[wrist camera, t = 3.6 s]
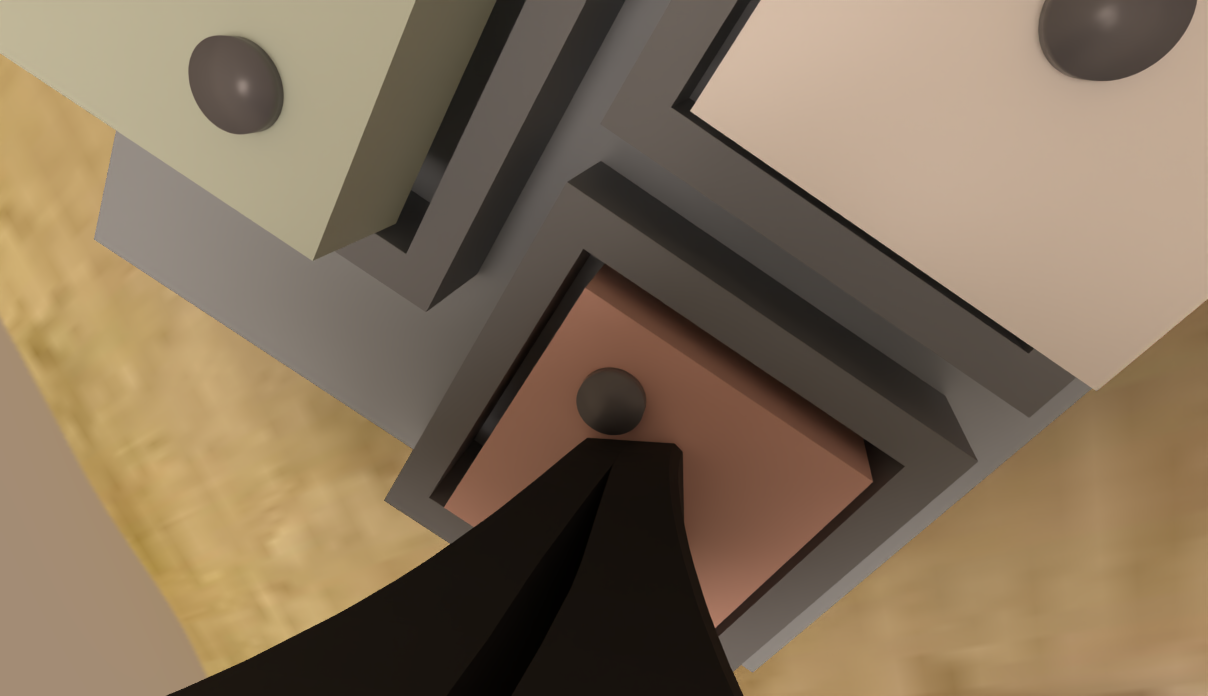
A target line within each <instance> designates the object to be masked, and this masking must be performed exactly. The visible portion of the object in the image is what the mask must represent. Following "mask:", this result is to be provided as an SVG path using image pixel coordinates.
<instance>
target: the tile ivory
mask: <svg viewBox="0 0 1208 696" xmlns="http://www.w3.org/2000/svg"><path fill="white" fill-rule="evenodd" d="M690 111H691V112H692V113H694V114H695V115H696V116H698V117H699V118H701V119H702V120H704V121H705V122H707V123H708V124H710V125H711V126H712V127H714V128H715V129H717V130H718V131H720V132H721V133H723V134H724V135H725V136H727V137H728V138H730V139H731V140H733V141H734V142H736V143H737V144H739V145H740V146H741V147H743V148H744V149H746V150H747V151H749V152H750V153H752V154H753V155H754V156H756V157H757V158H759V159H760V160H762V161H763V162H765V163H766V164H768V165H769V166H770V167H772V168H773V169H775V170H776V171H778V172H779V173H781V174H782V175H783V176H785V177H786V178H788V179H789V180H791V181H792V182H794V183H795V184H797V185H798V186H799V187H801V188H802V189H804V190H805V191H807V192H808V193H810V194H811V195H812V196H814V197H815V198H817V199H818V200H820V201H821V202H823V203H824V204H826V205H827V206H828V207H830V208H831V209H833V210H834V211H836V212H837V213H839V214H840V215H841V216H843V217H844V218H846V219H847V220H849V221H850V222H852V223H853V224H855V225H856V226H857V227H859V228H860V229H862V230H863V231H865V232H866V233H868V234H869V235H870V236H872V237H873V238H875V239H876V240H878V241H879V242H881V243H882V244H884V245H885V246H886V247H888V248H889V249H891V250H892V251H894V252H895V253H897V254H898V255H900V256H901V257H902V258H904V259H905V260H907V261H908V262H910V263H911V264H913V265H914V266H915V267H917V268H918V269H920V270H921V271H923V272H924V273H926V274H927V275H929V276H930V277H931V278H933V279H934V280H936V281H937V282H939V283H940V284H942V285H943V286H944V287H946V288H947V289H949V290H950V291H952V292H953V293H955V294H956V295H958V296H959V297H960V298H962V299H963V300H965V301H966V302H968V303H969V304H971V305H972V306H973V307H975V308H976V309H978V310H979V311H981V312H982V313H984V314H985V315H987V316H988V317H989V318H991V319H992V320H994V321H995V322H997V323H998V324H1000V325H1001V326H1002V327H1004V328H1005V329H1007V330H1008V331H1010V332H1011V333H1013V334H1014V335H1016V336H1017V337H1018V338H1020V339H1021V340H1023V341H1024V342H1026V343H1027V344H1029V345H1030V346H1031V347H1033V348H1034V349H1036V350H1037V351H1039V352H1040V353H1042V354H1043V355H1045V356H1046V357H1047V358H1049V359H1050V360H1052V361H1053V362H1055V363H1056V364H1058V365H1059V366H1060V367H1062V368H1063V369H1065V370H1066V371H1068V372H1069V373H1071V374H1072V375H1074V376H1075V377H1076V378H1078V379H1079V380H1081V381H1082V382H1084V383H1085V384H1087V385H1088V386H1089V387H1091V388H1092V389H1094V390H1095V391H1098V390H1099V389H1100V388H1101V387H1102V386H1104V385H1105V384H1106V383H1107V382H1108V381H1110V380H1111V379H1112V378H1113V377H1114V376H1116V375H1117V374H1118V373H1119V372H1120V371H1122V370H1123V369H1124V368H1125V367H1126V366H1128V365H1129V364H1130V363H1131V362H1132V361H1134V360H1135V359H1136V358H1137V357H1138V356H1140V355H1141V354H1142V353H1143V352H1144V351H1146V350H1147V349H1148V348H1149V347H1150V346H1152V345H1153V344H1154V343H1155V342H1156V341H1158V340H1159V339H1160V338H1161V337H1162V336H1164V335H1165V334H1166V333H1167V332H1168V331H1170V330H1171V329H1172V328H1173V327H1174V326H1176V325H1177V324H1178V323H1179V322H1180V321H1182V320H1183V319H1184V318H1185V317H1186V316H1188V315H1189V314H1190V313H1191V312H1192V311H1194V310H1195V309H1196V308H1197V307H1198V306H1200V305H1201V304H1202V303H1203V302H1204V301H1206V300H1207V299H1208V0H761V1H760V2H759V4H758V5H757V7H756V8H755V10H754V11H753V13H752V15H751V16H750V18H749V19H748V21H747V22H746V24H745V26H744V27H743V29H742V30H741V32H740V33H739V35H738V37H737V38H736V40H735V41H734V43H733V44H732V46H731V48H730V49H729V51H728V52H727V54H726V55H725V57H724V59H723V60H722V62H721V63H720V65H719V66H718V68H717V70H716V71H715V73H714V74H713V76H712V77H711V79H710V81H709V82H708V84H707V85H706V87H705V88H704V90H703V92H702V93H701V95H700V96H699V98H698V99H697V101H696V103H695V104H694V106H693V107H692V109H691V110H690Z"/></svg>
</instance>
